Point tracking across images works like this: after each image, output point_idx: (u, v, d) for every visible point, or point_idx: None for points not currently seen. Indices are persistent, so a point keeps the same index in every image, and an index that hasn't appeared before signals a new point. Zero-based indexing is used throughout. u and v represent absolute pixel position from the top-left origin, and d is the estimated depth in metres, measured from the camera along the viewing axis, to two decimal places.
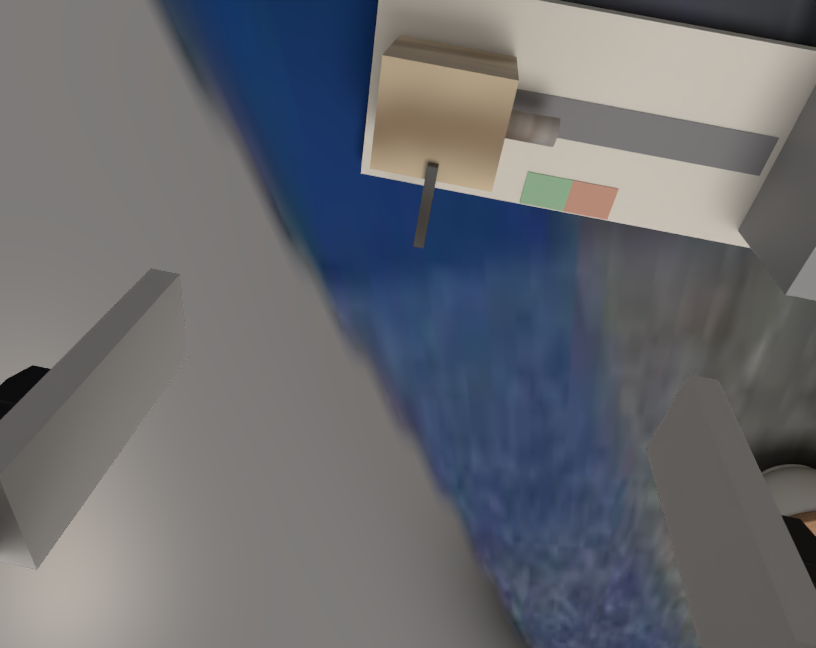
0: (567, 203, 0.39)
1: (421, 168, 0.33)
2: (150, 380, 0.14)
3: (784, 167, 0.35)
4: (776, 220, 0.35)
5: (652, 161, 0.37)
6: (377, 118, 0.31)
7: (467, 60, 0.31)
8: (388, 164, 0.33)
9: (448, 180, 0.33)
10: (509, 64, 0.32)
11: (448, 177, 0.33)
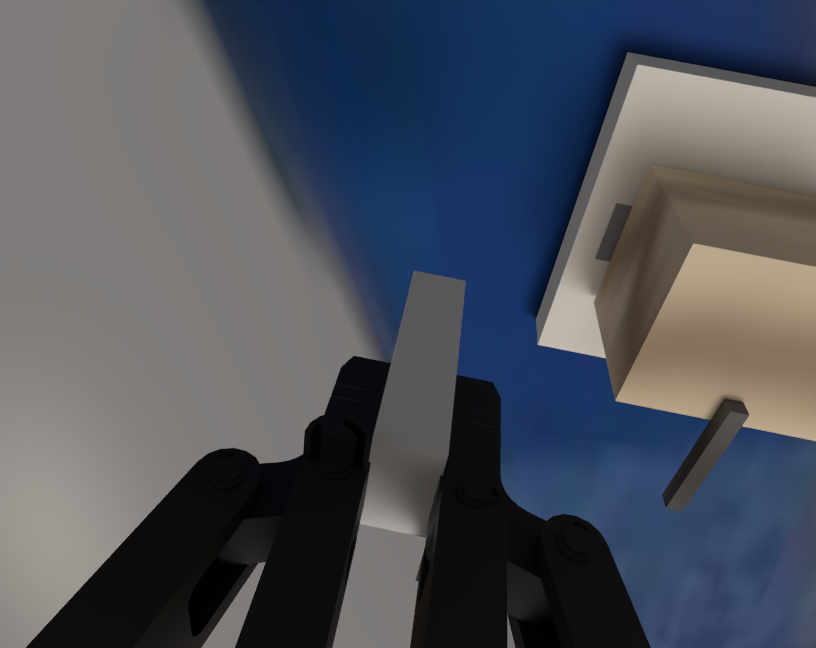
0: None
1: (710, 405, 0.19)
2: None
3: None
4: None
5: None
6: (652, 335, 0.18)
7: (810, 231, 0.18)
8: (650, 397, 0.19)
9: (752, 423, 0.19)
10: None
11: (754, 420, 0.19)
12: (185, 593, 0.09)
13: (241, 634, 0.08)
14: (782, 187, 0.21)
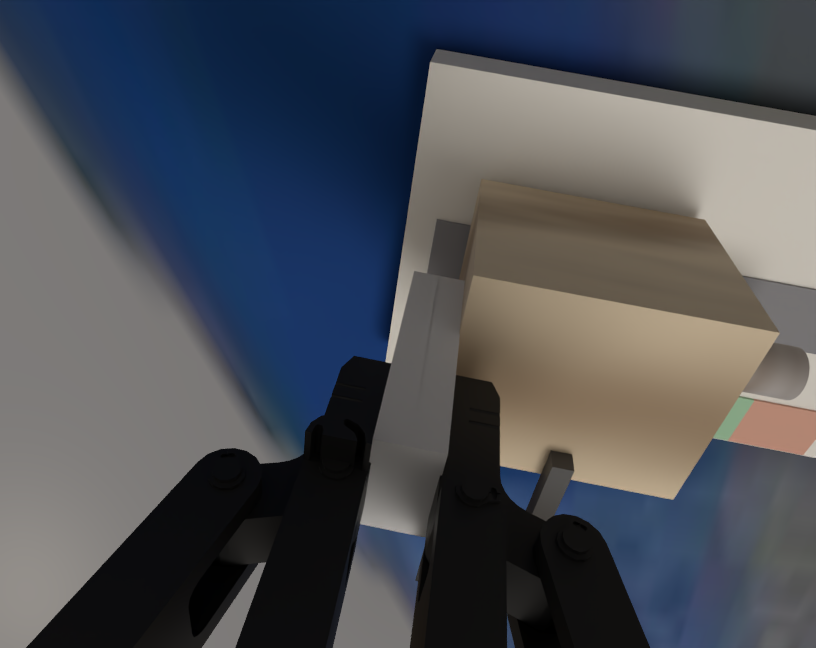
0: (737, 430, 0.23)
1: (536, 457, 0.16)
2: None
3: None
4: None
5: None
6: None
7: (637, 257, 0.15)
8: None
9: (587, 478, 0.17)
10: (714, 255, 0.16)
11: (589, 474, 0.16)
12: (185, 593, 0.09)
13: (242, 634, 0.08)
14: (614, 200, 0.18)
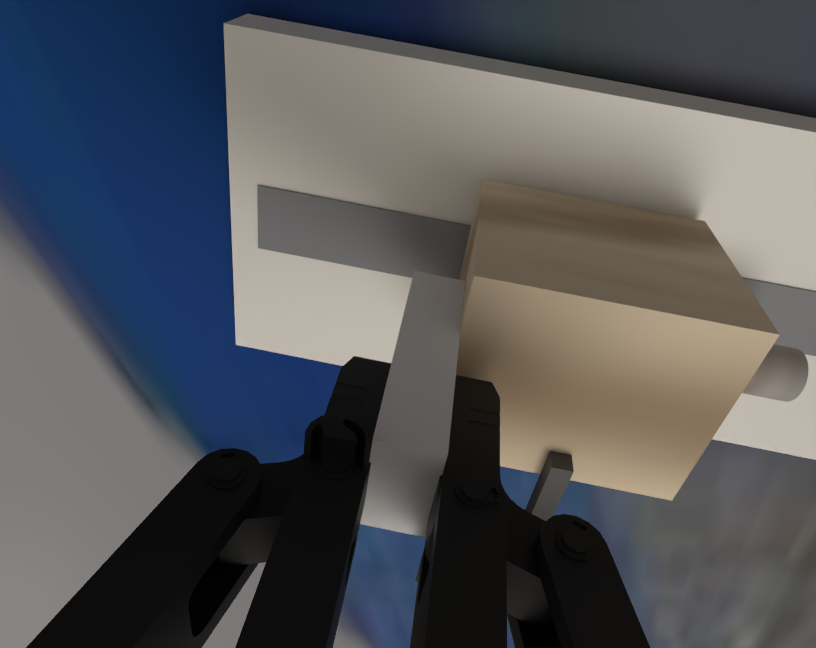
0: None
1: (536, 458, 0.16)
2: None
3: None
4: None
5: None
6: None
7: (638, 258, 0.15)
8: None
9: (586, 479, 0.17)
10: (714, 256, 0.16)
11: (588, 474, 0.17)
12: (185, 593, 0.09)
13: (242, 634, 0.08)
14: (423, 165, 0.19)
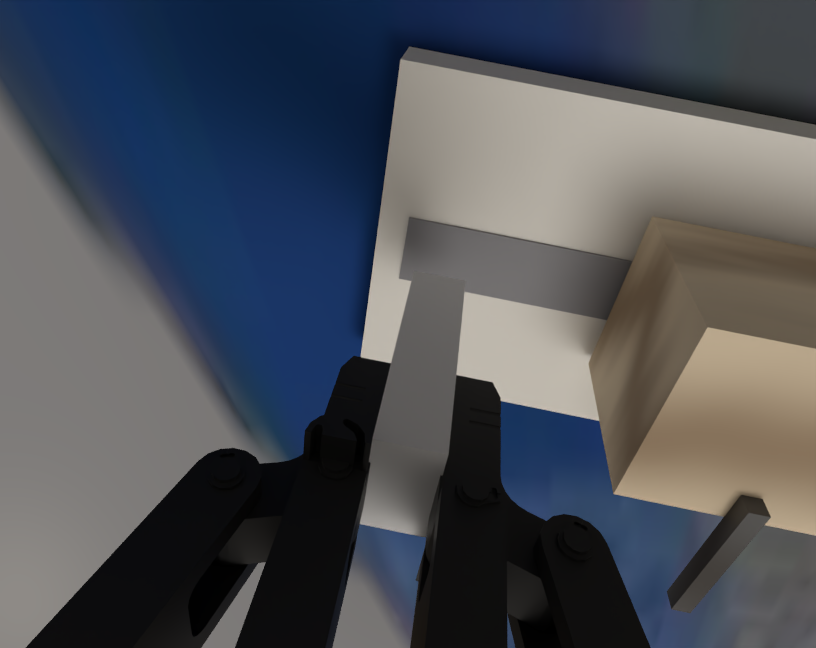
0: None
1: (724, 501, 0.16)
2: None
3: None
4: None
5: None
6: (657, 425, 0.15)
7: None
8: (655, 491, 0.16)
9: (772, 522, 0.17)
10: None
11: (775, 518, 0.16)
12: (185, 593, 0.09)
13: (241, 634, 0.08)
14: (584, 200, 0.18)
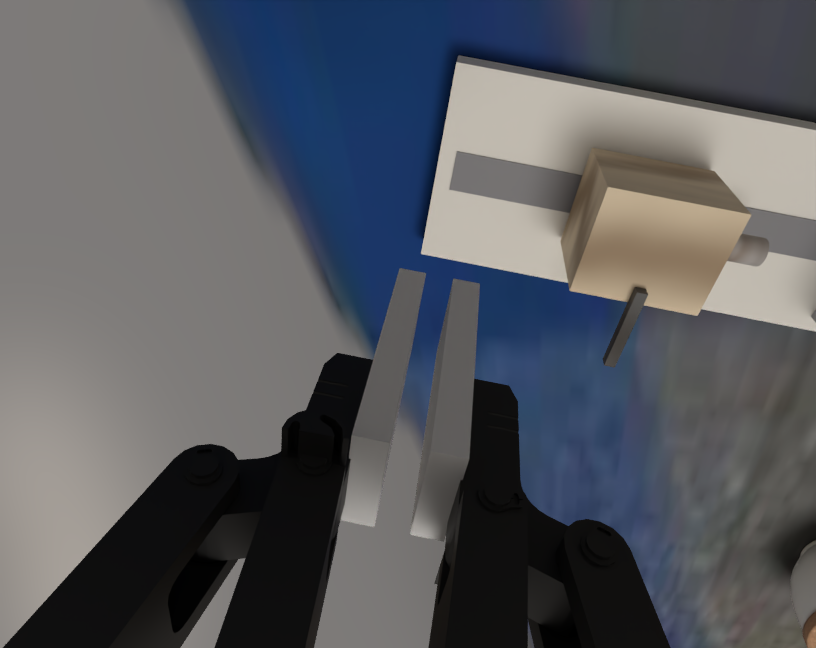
0: None
1: (626, 291, 0.31)
2: (407, 367, 0.16)
3: None
4: None
5: None
6: (588, 245, 0.30)
7: (681, 184, 0.30)
8: (590, 287, 0.31)
9: (652, 304, 0.31)
10: (719, 185, 0.31)
11: (654, 301, 0.31)
12: (164, 589, 0.09)
13: (221, 632, 0.08)
14: (555, 139, 0.33)
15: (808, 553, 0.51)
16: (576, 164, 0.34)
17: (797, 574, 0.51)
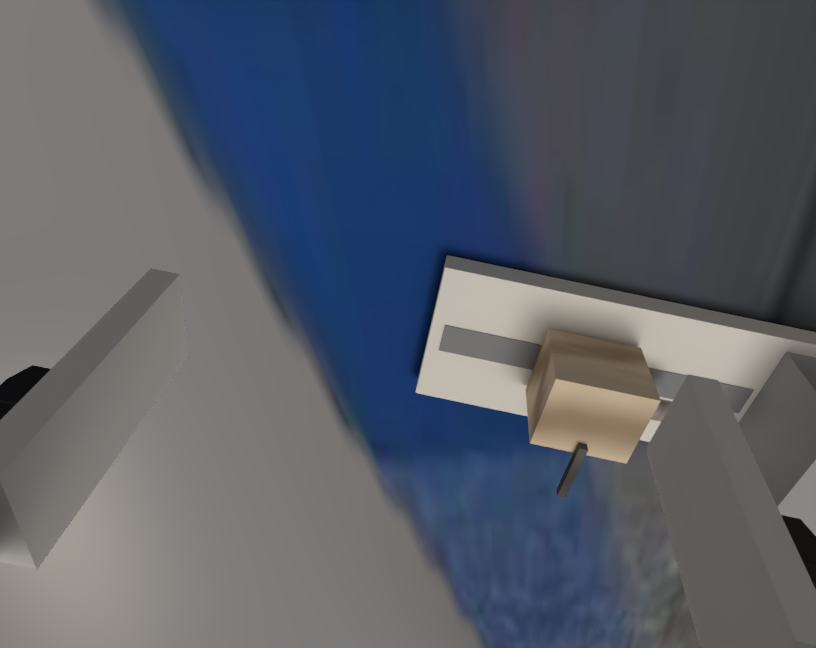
0: None
1: (572, 445, 0.41)
2: (150, 380, 0.14)
3: (758, 415, 0.44)
4: None
5: None
6: (543, 414, 0.40)
7: (612, 369, 0.40)
8: (545, 441, 0.41)
9: (592, 454, 0.41)
10: (642, 366, 0.41)
11: (593, 452, 0.41)
12: None
13: None
14: (520, 320, 0.44)
15: None
16: (537, 337, 0.44)
17: None
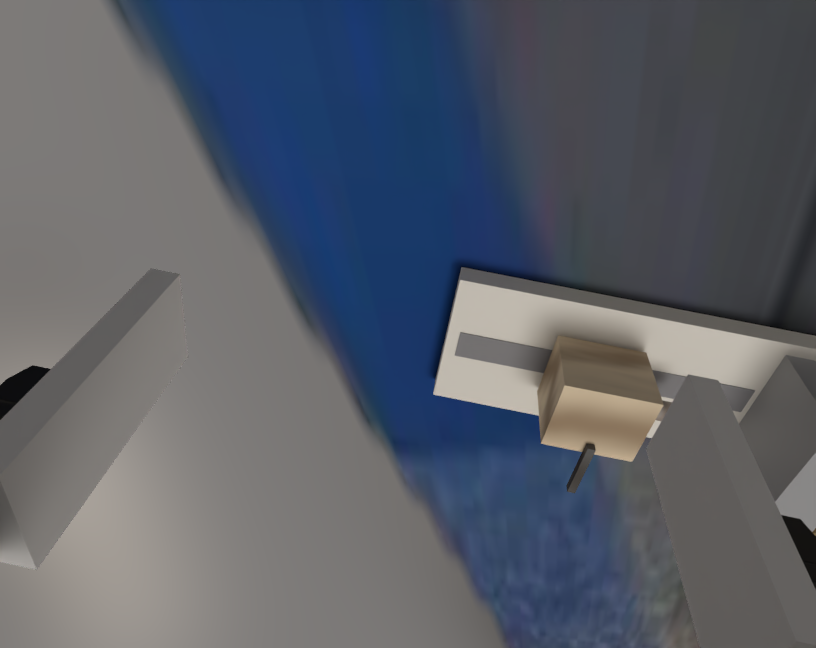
0: None
1: (581, 445, 0.44)
2: (150, 380, 0.14)
3: (759, 414, 0.46)
4: None
5: None
6: (553, 417, 0.43)
7: (618, 374, 0.43)
8: (556, 442, 0.44)
9: (600, 453, 0.44)
10: (647, 371, 0.44)
11: (600, 452, 0.44)
12: None
13: None
14: (531, 327, 0.46)
15: None
16: (547, 343, 0.47)
17: None
